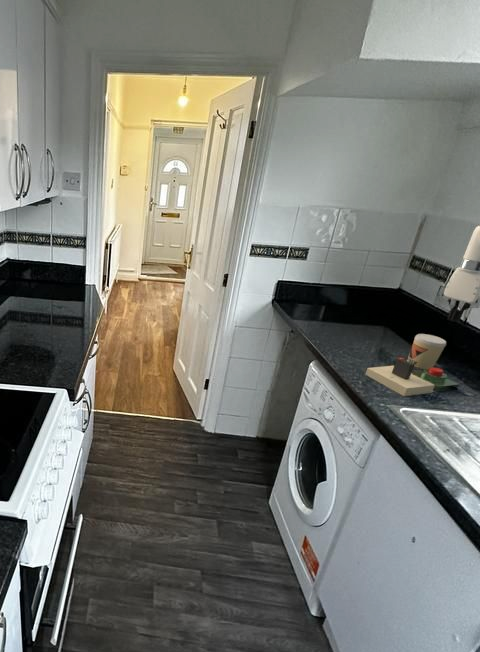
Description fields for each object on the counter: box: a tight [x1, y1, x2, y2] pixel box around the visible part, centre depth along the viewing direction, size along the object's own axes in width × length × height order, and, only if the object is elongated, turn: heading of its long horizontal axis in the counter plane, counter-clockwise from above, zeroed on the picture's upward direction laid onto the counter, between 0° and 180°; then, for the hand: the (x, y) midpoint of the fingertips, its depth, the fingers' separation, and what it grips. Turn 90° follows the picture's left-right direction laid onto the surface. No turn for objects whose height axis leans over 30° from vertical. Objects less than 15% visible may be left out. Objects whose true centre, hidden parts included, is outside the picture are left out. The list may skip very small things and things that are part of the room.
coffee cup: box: [406, 333, 447, 371], centre depth 152 cm, size 9×9×12 cm
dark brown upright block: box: [392, 357, 415, 380], centre depth 139 cm, size 5×2×6 cm, turn 16°
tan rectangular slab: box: [364, 365, 435, 397], centre depth 141 cm, size 15×12×3 cm
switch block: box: [411, 369, 460, 393], centre depth 142 cm, size 11×9×4 cm
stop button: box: [429, 366, 444, 376], centre depth 141 cm, size 4×4×2 cm
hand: (452, 320), depth 139 cm, fingers closed
